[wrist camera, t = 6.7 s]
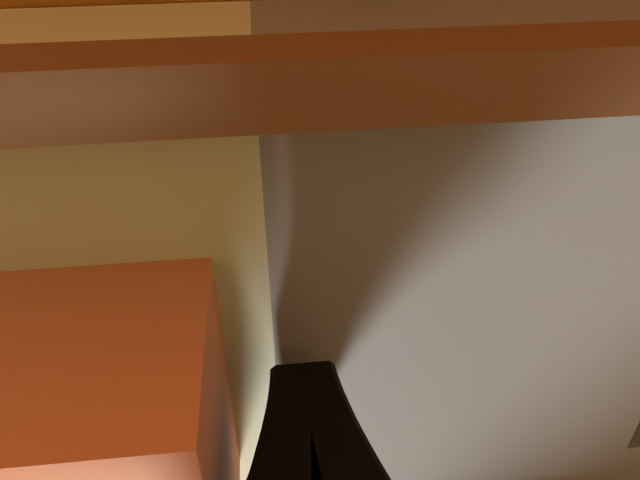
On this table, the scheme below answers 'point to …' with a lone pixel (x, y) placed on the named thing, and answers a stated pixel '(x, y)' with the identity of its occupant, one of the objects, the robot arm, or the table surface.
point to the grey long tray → (362, 205)
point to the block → (114, 374)
